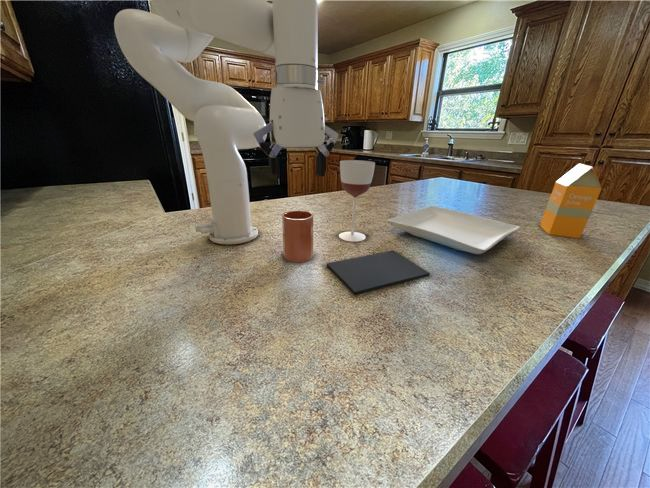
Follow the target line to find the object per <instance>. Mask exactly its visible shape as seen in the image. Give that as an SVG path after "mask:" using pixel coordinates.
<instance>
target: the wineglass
mask: <svg viewBox="0 0 650 488" xmlns="http://www.w3.org/2000/svg"><path fill="white" fill-rule="evenodd" d="M375 167H376V162H375V161H371V160H362V159H361V160H360V159H359V160H357V159H347V160H345V159H344V160H340V161H339V174H340V182H341V183H340V184H341V187H342V189H343V191H344V192H346V193H347V194H349V195H350V196H352V197H353V198H352V200H353V201H352V214H351V227H350V231H344V232H341V233H339V234H338V237H339V239H341V240H343V241H346V242H351V243H353V242H356V243H357V242H362V241H364V240H366V238H367V237H366V235H365V234H363V233H361V232H359V231H355V221H356V209H357V197H358V196H359V197H360V196H361V195H364V194H366V193H367V192H368V191H369V189H370V188H371V185H372V181H373V178H374V173H375Z"/></svg>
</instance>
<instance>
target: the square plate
mask: <svg viewBox="0 0 650 488" xmlns="http://www.w3.org/2000/svg"><path fill="white" fill-rule="evenodd" d="M387 222H388V223H390V225H391V226H393V227H394V228H396V229H398V230H401V231H403V232H406V233H408V234H410V235H411V236H414V237H417V238H420V239H424V240H427V241H429V242H433V243H436V244H439V245H441V246H444V247H447V248H450V249H453V250H456V251H460V252H464V253H465V252H466V253H469V254H474V255H481V254H484V253H486V252H487V251H489V250H490V249H492V248H493V247H495V245H497V244H499V243H500V242H501V241H503V240H505V239H507V238H508V237H511V236H512V235H513V234H515V233H516V232H518V231H519V230H521V229H522V228H521V226H519V225H515V224H511V223H507V222H503V221H500V220H496V219H492V218H489V217H485V216H481V215H477V214H473V213H469V212H465V211H459V210H456V209H450V208H445V207H440V206H435V205H430V206H427V207H423V208H420V209H416V210H412V211H409V212H405V213H403V214H400V215H397V216H394V217H391V218H389V219H387Z"/></svg>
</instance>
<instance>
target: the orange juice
mask: <svg viewBox="0 0 650 488" xmlns="http://www.w3.org/2000/svg"><path fill="white" fill-rule="evenodd" d="M602 189H603V187H602V185H601V183H600V180H599V177H598V176H597V174H596V171H595V168H594V166H593V165H588V164H584V163H580V162H579V163H578V164H576V165H575V166H573V168H571V169H570V170H569V171H567V172H566V173H565V174H564V175H562V176H561V177H560V178H558V179H557V180H556V181H555V183H554V186H553V188H552V191H551V194H550V197H549V199H548V202H547V204H546V207H545V210H544V213H543V216H542V217H541V221H540V224H539V226H540V227H541V229H542V230H544V232H546V233H547V235H549V236H550V235H551V236H558V237H566V238H574V239H581V237H582V234H583V232H584V230H585V228H586V225H587V224H588V222H589V219H590V217H591V215H592V212H593V210H594V207H595V205H596V202H597V200H598V198H599V196H600V194H601V191H602Z"/></svg>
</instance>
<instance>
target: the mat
mask: <svg viewBox="0 0 650 488" xmlns="http://www.w3.org/2000/svg"><path fill="white" fill-rule="evenodd" d="M326 267H327V268H328V269H329V270H330V271H331V272H332V273H333V274H334V275H335V276H336V277H337V278H338V279H339V280H340V281H341V282H342V283H343V284H344V285H345V286H346V288H348V290H350V292H352V294H353V295H358V294H362V293H366V292H370V291H375V290H378V289H383V288H385V287H386V288H387V287H390V286H395V285H398V284H402V283H406V282H410V281H413V280H417V279H421V278H425V277H429V276H430V274H431V273H430V272H429V271H427V270H426V269H424V268H422V267H421V266H420V265H417V264H416V263H414V262H413V261H412V260H409V259H408V258H406V256H405V257H404V256H403V255H402V254H400V253H398V252H397V251H395V250H389V251H388V250H387V251H384V252H379V253H373V254H368V255H363V256H358V257H352V258H348V259H347V258H346V259H342V260H338V261H337V260H336V261H332V262H328V263H326Z"/></svg>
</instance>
